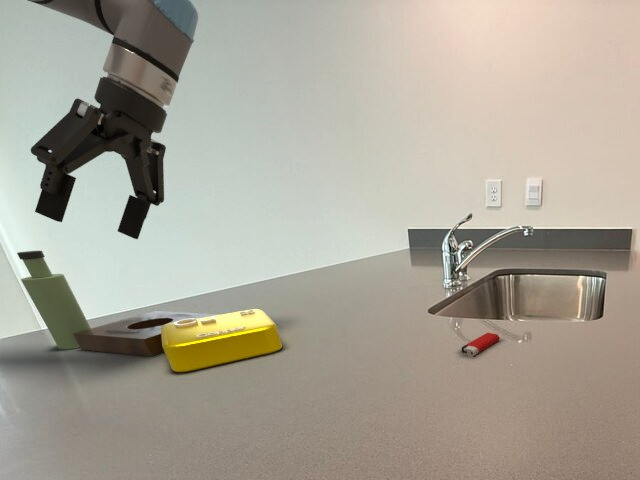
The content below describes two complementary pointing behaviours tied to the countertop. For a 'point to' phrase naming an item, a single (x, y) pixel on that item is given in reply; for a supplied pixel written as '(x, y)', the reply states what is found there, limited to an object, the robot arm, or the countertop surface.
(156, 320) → the hole board
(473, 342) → the lighter
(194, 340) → the element tile
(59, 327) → the bottle
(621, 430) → the countertop surface
